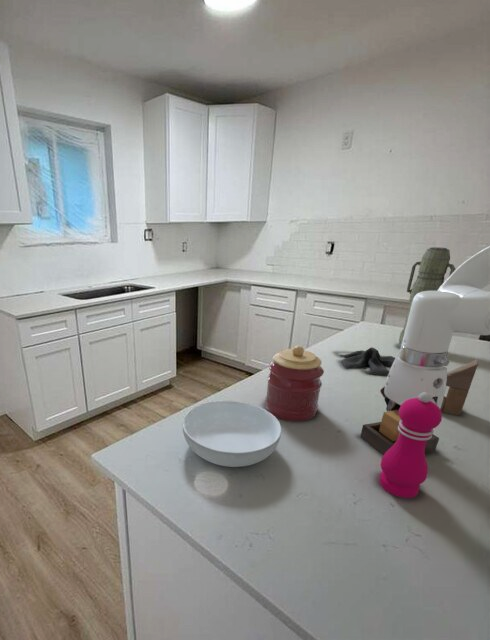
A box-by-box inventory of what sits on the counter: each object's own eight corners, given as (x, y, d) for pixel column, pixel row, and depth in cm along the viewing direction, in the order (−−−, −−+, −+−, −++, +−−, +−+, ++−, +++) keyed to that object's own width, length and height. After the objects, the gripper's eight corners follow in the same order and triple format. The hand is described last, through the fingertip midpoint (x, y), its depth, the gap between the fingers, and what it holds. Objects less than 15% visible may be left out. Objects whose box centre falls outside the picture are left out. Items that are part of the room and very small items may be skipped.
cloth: (411, 363, 120) (416, 346, 117) (397, 382, 107) (402, 363, 105) (341, 348, 134) (344, 332, 131) (322, 363, 121) (324, 346, 119)
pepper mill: (428, 503, 64) (463, 404, 56) (383, 498, 65) (412, 401, 57) (410, 475, 70) (439, 384, 62) (370, 472, 72) (393, 381, 64)
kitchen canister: (260, 415, 92) (266, 351, 85) (269, 393, 103) (275, 335, 95) (314, 427, 87) (326, 359, 80) (318, 402, 97) (329, 341, 90)
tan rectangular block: (405, 426, 81) (411, 407, 79) (420, 436, 77) (427, 416, 75) (378, 431, 80) (383, 411, 78) (393, 441, 76) (398, 421, 74)
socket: (402, 430, 85) (406, 417, 83) (434, 452, 77) (439, 438, 75) (359, 438, 82) (362, 424, 81) (388, 461, 75) (392, 446, 73)
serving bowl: (295, 447, 80) (299, 420, 77) (242, 498, 66) (245, 467, 63) (219, 414, 93) (220, 390, 90) (162, 450, 80) (161, 424, 77)
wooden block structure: (459, 416, 89) (483, 348, 82) (408, 404, 96) (427, 340, 88) (460, 410, 92) (483, 344, 85) (410, 398, 98) (428, 335, 91)
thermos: (429, 356, 125) (460, 250, 111) (390, 349, 132) (415, 248, 118) (432, 348, 131) (462, 247, 117) (395, 342, 138) (419, 246, 124)
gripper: (479, 369, 64) (449, 453, 72) (403, 340, 79) (384, 412, 87) (445, 374, 63) (418, 460, 70) (373, 343, 78) (357, 416, 85)
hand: (399, 432), depth 78 cm, fingers closed on tan rectangular block, 4 cm apart
